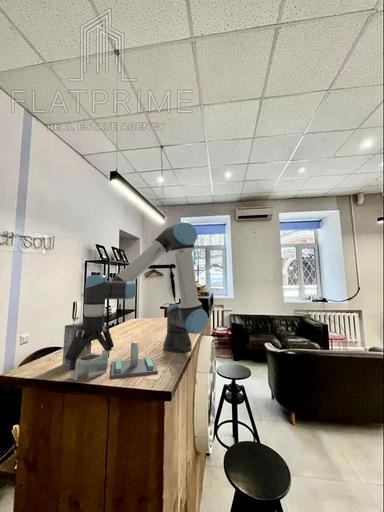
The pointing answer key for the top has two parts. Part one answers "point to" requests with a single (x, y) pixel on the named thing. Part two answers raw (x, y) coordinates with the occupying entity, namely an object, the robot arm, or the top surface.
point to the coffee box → (69, 338)
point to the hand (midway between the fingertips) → (90, 373)
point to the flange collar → (92, 365)
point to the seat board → (132, 369)
